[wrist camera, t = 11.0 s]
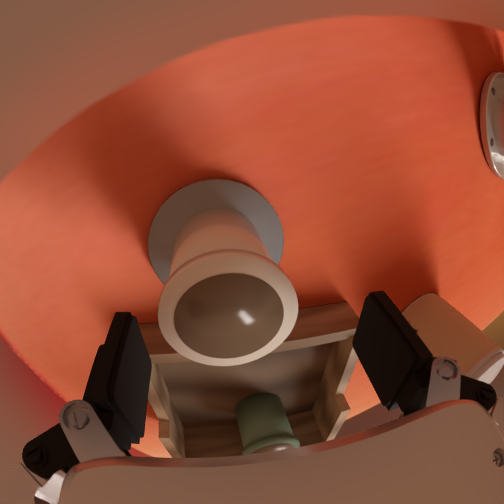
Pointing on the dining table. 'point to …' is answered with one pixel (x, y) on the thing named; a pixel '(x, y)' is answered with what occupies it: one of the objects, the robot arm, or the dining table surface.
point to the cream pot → (224, 292)
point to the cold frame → (255, 385)
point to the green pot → (264, 424)
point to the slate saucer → (206, 197)
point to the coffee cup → (454, 337)
